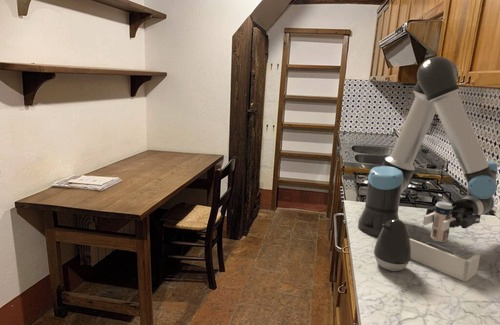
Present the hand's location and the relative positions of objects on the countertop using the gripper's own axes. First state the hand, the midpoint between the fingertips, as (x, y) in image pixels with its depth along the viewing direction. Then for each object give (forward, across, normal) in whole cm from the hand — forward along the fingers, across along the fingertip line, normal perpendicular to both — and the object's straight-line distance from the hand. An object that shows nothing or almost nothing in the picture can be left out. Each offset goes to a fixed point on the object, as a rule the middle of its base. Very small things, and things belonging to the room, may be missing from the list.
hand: (433, 223), depth 108 cm
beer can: (-5, 0, -7) cm, 9 cm away
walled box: (-4, +1, -13) cm, 14 cm away
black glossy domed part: (+12, +6, -13) cm, 19 cm away
